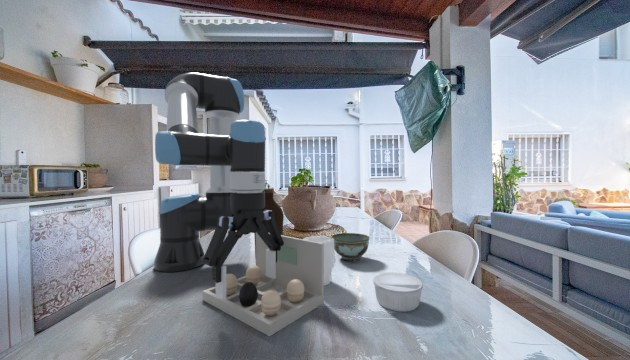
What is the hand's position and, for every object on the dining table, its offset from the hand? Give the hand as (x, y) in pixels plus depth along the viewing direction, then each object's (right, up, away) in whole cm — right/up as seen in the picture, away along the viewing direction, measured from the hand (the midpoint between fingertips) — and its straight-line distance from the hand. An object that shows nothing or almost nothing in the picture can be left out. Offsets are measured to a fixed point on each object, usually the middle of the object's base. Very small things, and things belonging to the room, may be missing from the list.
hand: (248, 286), depth 61 cm
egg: (0, -4, 0) cm, 4 cm away
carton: (+2, -5, +3) cm, 6 cm away
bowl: (+28, -5, +36) cm, 46 cm away
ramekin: (+34, -5, +3) cm, 35 cm away
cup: (+16, -5, +15) cm, 23 cm away
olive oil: (-1, -5, +37) cm, 37 cm away
